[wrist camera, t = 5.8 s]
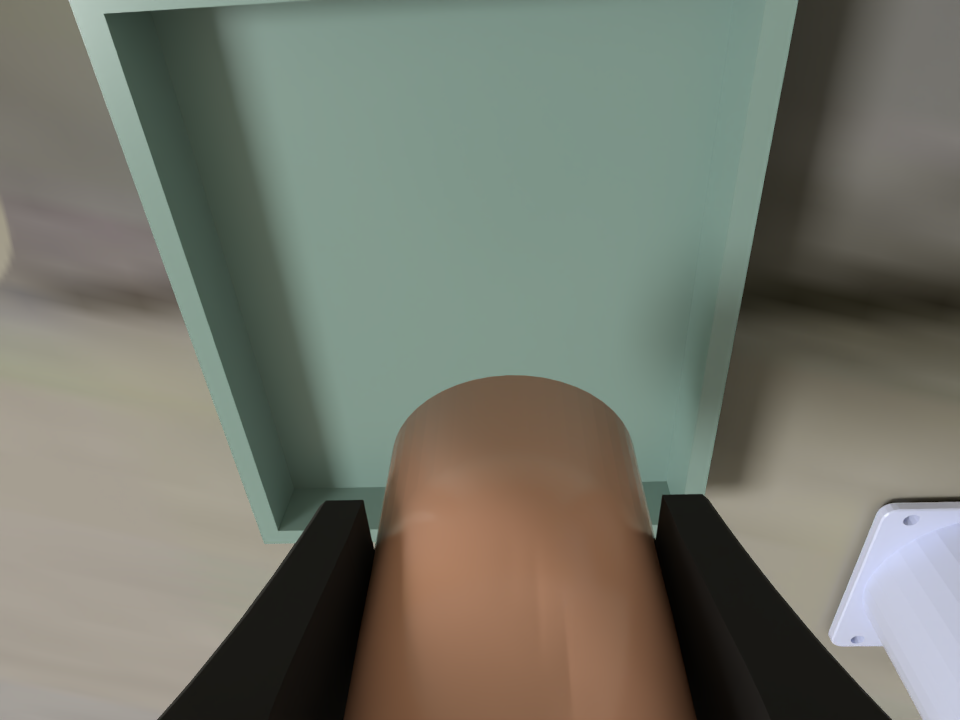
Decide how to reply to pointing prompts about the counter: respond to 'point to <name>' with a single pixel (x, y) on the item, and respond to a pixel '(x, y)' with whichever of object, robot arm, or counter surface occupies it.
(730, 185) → the tray
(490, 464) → the salt shaker
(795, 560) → the counter surface
